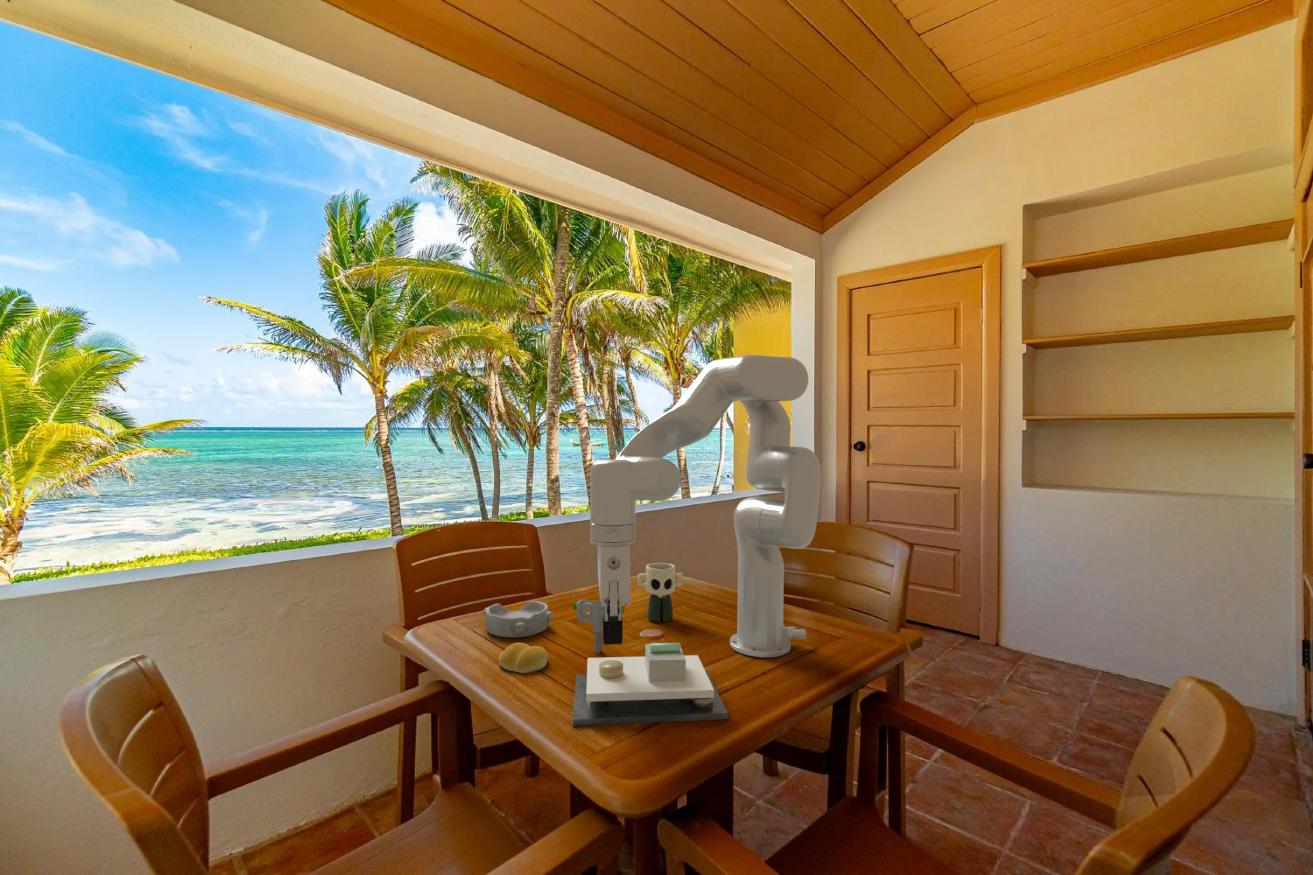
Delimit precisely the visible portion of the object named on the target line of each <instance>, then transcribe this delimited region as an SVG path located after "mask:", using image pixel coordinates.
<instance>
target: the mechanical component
mask: <svg viewBox="0 0 1313 875" xmlns="http://www.w3.org/2000/svg"><path fill="white" fill-rule="evenodd" d="M624 606H625V605H622V606H621V615H623V614H624V611H625V610H624V609H625V607H624ZM586 609H588V610H589V611H587V610H586ZM573 610H574V611H576V619H577V620H578V622H579V623H585V624H586V623H588V624H592V628H591V630H592V631H593V632H594V642H593V643H594V650H593V651H594V653H595V654H601V652H602V651H603V618H605V615H604V606H602V605H601V600H589V599H580V600H579V601H574V603H573Z"/></svg>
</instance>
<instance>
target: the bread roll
mask: <svg viewBox="0 0 1313 875" xmlns="http://www.w3.org/2000/svg"><path fill="white" fill-rule="evenodd" d="M548 659H549V657H548V651H547V650H545V649H544V648H543V647H542V646H537V645H533V646H530V645H529V644H527V643H524V642H515V643H514V642H513V643H511V644H510V645H509V646H507V647H506V648H505V649H504V650H503V651H502V652H501V654H500V655H499V657H498V662H499V664H500V666H501V668H503V669H504V670H505V669H506V671H508V670H509V672H515V673H517V672H519V674H527V673H528V674H529V673H533V672H537V671H540V670H543V668H545V667H546V665H547V663H548Z"/></svg>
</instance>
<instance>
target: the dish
mask: <svg viewBox="0 0 1313 875" xmlns="http://www.w3.org/2000/svg"><path fill="white" fill-rule="evenodd" d="M483 615H484V617H485V619H484V620H485V628H486V630H487V632H488V633H489V634H491V635H493V636H496V637H501V638H502V637H503V638H513V639H514V638H525V637H530V636H534V635H537V634H539V633H541V632H544V631H545V630H547V629H548V627H549V624H550V623H551V622H552V621H553V617H554V616H553V612H552V611H550V609H549V606H548V604H547V603H545V602H542V601H539V600H537V601H536V600H528V601H527V603H526V604H525V605H524V606H523V607H522V608H520V609H518V610H508V609H507V608H506V607H504V606H502V604H501V603H494V604H492V605H490V606H488V607H485V608H484V609H483Z"/></svg>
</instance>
